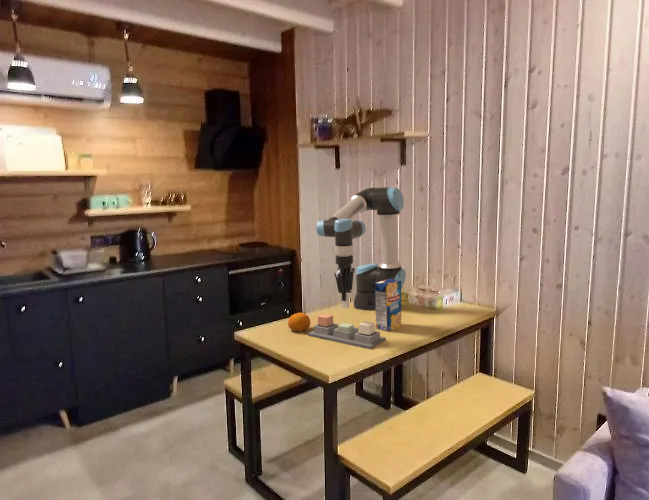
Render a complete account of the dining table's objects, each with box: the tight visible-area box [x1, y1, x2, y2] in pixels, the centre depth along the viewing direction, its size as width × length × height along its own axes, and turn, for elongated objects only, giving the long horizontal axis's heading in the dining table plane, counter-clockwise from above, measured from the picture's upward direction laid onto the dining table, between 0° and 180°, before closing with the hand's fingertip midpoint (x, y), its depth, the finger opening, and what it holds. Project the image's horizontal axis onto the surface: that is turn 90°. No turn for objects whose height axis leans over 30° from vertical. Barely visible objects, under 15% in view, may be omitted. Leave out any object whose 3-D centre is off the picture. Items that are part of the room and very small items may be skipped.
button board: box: [307, 322, 387, 350], centre depth 217 cm, size 13×33×4 cm, turn 54°
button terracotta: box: [317, 313, 334, 327], centre depth 223 cm, size 5×5×4 cm
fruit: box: [287, 312, 311, 332], centre depth 230 cm, size 10×10×8 cm
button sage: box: [338, 322, 355, 332], centre depth 217 cm, size 5×5×4 cm
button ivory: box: [358, 320, 376, 335], centre depth 210 cm, size 5×5×4 cm
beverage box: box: [374, 279, 402, 332], centre depth 229 cm, size 7×11×22 cm, turn 135°
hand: (345, 307), depth 216 cm, fingers closed
